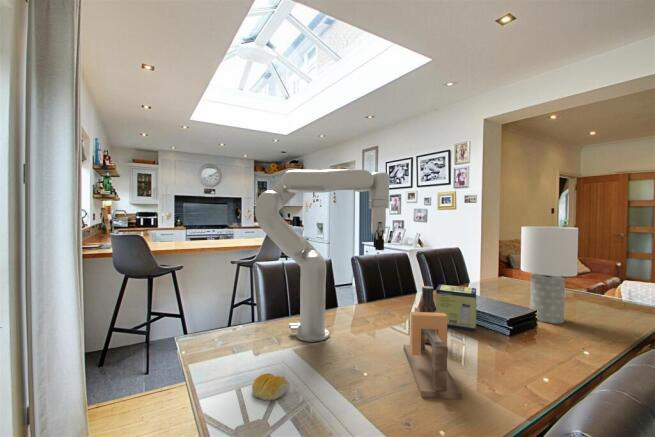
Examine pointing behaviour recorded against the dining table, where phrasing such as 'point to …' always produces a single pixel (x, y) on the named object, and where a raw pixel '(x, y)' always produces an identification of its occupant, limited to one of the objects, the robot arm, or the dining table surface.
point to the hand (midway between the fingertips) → (378, 248)
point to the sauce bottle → (427, 304)
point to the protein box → (457, 306)
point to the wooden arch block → (426, 322)
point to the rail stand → (432, 368)
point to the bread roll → (269, 387)
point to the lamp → (549, 267)
